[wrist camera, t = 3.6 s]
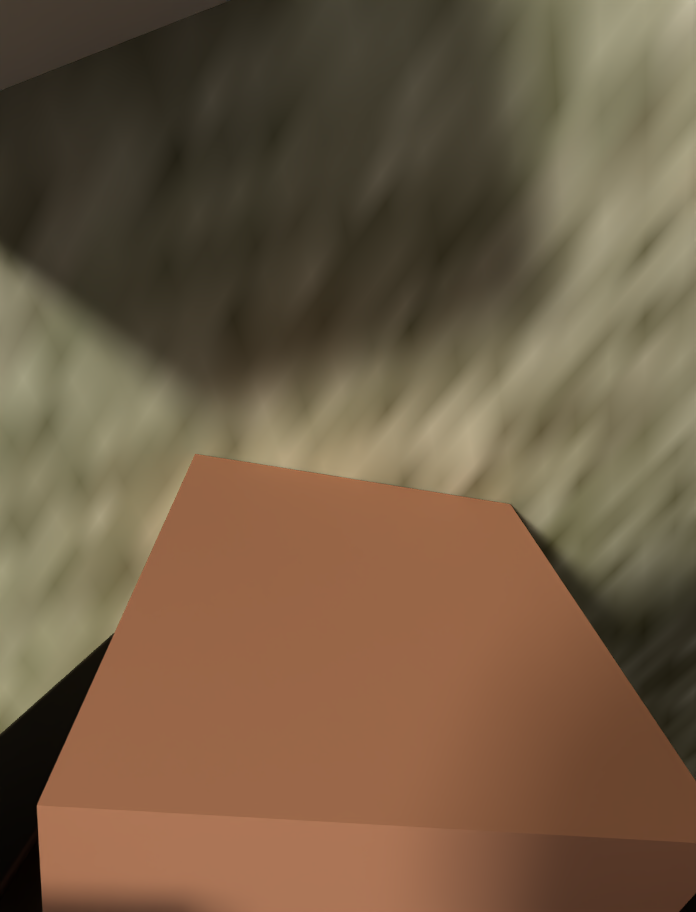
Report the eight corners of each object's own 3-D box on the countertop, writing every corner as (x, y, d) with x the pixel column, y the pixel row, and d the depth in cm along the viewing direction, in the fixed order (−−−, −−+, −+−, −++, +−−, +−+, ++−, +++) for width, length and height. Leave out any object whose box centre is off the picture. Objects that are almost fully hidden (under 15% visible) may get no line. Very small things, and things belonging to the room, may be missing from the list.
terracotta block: (510, 504, 9) (738, 845, 4) (426, 714, 12) (512, 1096, 7) (194, 453, 8) (36, 805, 4) (170, 691, 11) (53, 1108, 6)
